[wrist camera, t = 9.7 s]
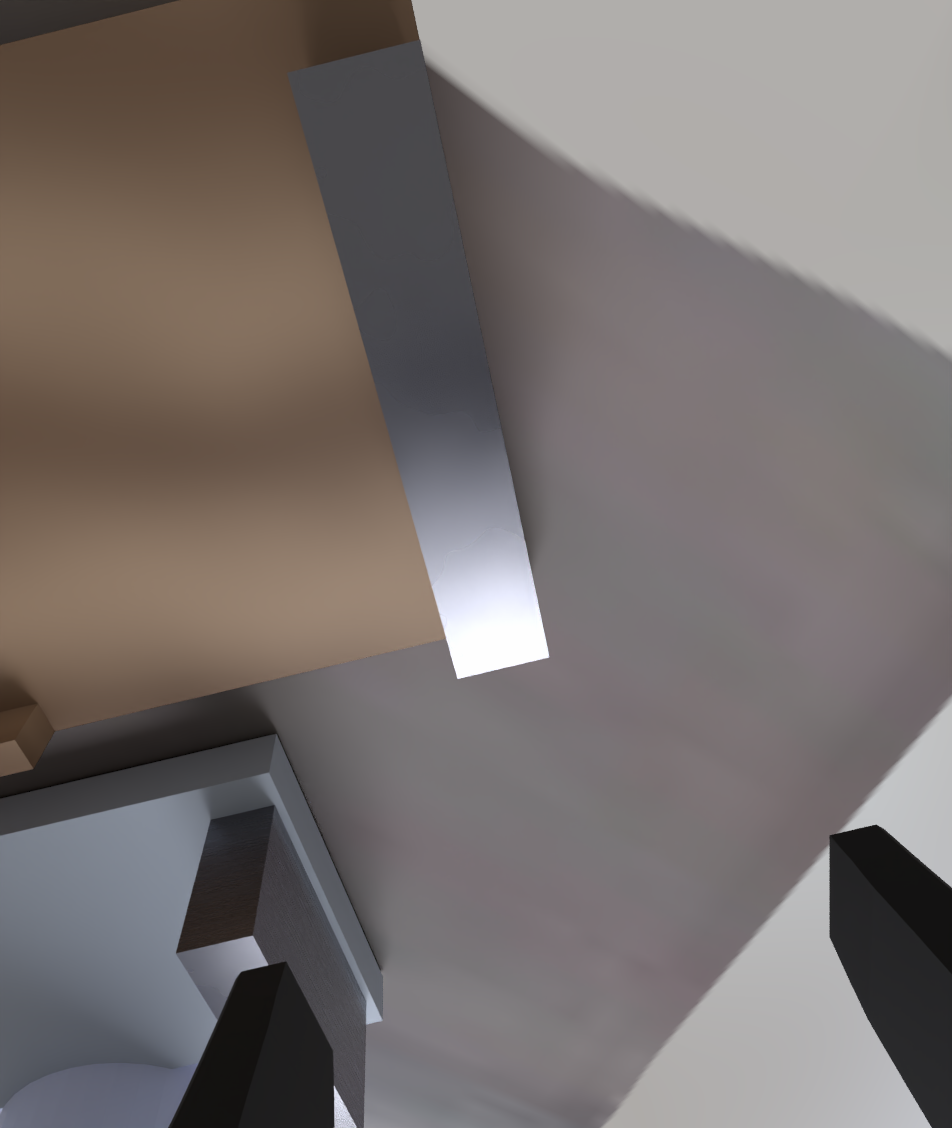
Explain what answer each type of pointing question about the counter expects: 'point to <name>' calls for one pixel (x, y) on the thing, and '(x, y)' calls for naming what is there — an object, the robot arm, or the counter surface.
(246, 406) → the wooden tray
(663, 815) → the counter surface
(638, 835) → the counter surface
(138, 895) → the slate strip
